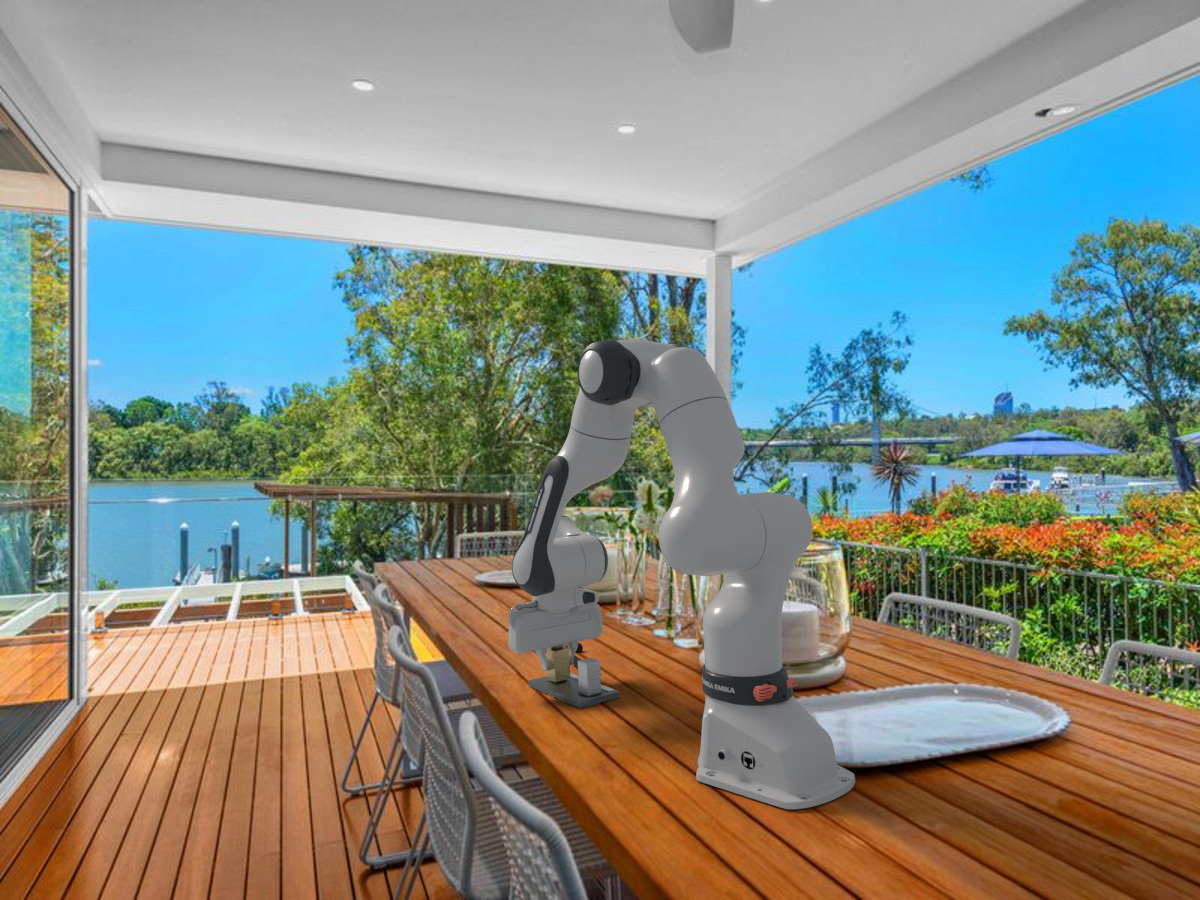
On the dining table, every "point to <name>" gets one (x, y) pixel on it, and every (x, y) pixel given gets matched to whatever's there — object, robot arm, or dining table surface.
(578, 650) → the wrench
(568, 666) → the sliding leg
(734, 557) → the robot arm
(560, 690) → the bolt plate
